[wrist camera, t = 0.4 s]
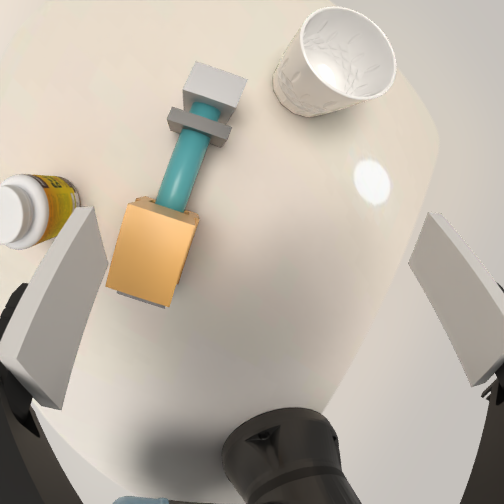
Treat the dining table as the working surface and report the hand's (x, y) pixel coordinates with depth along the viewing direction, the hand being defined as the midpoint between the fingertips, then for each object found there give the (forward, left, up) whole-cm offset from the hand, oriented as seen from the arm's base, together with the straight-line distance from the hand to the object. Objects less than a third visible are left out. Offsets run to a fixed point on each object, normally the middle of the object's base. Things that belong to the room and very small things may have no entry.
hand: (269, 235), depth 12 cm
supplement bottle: (-5, +15, -18) cm, 24 cm away
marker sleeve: (-4, +4, -16) cm, 17 cm away
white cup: (+14, -3, -18) cm, 23 cm away
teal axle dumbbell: (0, +4, -18) cm, 18 cm away
